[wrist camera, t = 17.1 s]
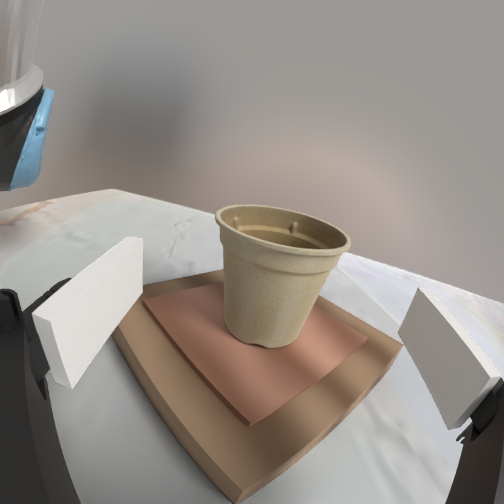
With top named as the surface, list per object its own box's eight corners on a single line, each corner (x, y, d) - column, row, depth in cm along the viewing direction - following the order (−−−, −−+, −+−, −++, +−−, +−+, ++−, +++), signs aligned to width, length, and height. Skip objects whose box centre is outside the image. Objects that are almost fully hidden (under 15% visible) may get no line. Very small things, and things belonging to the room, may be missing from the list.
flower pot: (291, 386, 17) (333, 265, 13) (178, 325, 20) (186, 213, 17) (330, 321, 24) (360, 231, 21) (242, 284, 28) (257, 199, 25)
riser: (235, 504, 11) (244, 488, 9) (104, 319, 24) (101, 288, 22) (390, 367, 24) (405, 340, 23) (257, 282, 37) (262, 257, 36)
